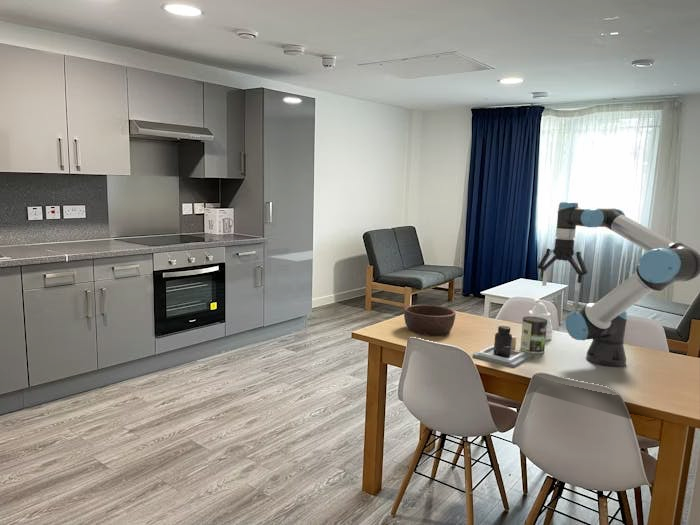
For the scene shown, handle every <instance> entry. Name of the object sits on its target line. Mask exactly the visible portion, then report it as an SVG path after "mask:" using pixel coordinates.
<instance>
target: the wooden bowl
mask: <svg viewBox="0 0 700 525" xmlns="http://www.w3.org/2000/svg"><path fill="white" fill-rule="evenodd" d="M456 315H457V314H456V311H455V310H454V309H452V308H448V307H446V306H440V305H435V304H433V305H432V304H414V305H413V304H412V305H408V306H406V307H404V308H403V317H404V322H405V326H406V328H407V330H409V331H410V332H411V333H414V334H417V335H422V336H431V337H432V336H433V337H435V336H445V335H448V334H449V333H450V332H451V331H452V329H453V327H454V324H455V319H456Z"/></svg>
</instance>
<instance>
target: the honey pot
mask: <svg viewBox="0 0 700 525" xmlns="http://www.w3.org/2000/svg"><path fill="white" fill-rule="evenodd" d="M540 301H541V300H540V299H536V298H534V299H533V302H534V303H535V304H536V305H534V307H533V308H532V310H531V309H530V310H528V314H529V315H528V317H529V316H530V317H540V318H544V319H546V320H547V321H548V322H547V329H546V339H545V341H550V340H552V339H553V325H552V320H551V313H550V312H549V311H548V309H547V307H546V305H545V304H544V303H543V302H540ZM551 338H552V339H551ZM549 339H550V340H549Z"/></svg>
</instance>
